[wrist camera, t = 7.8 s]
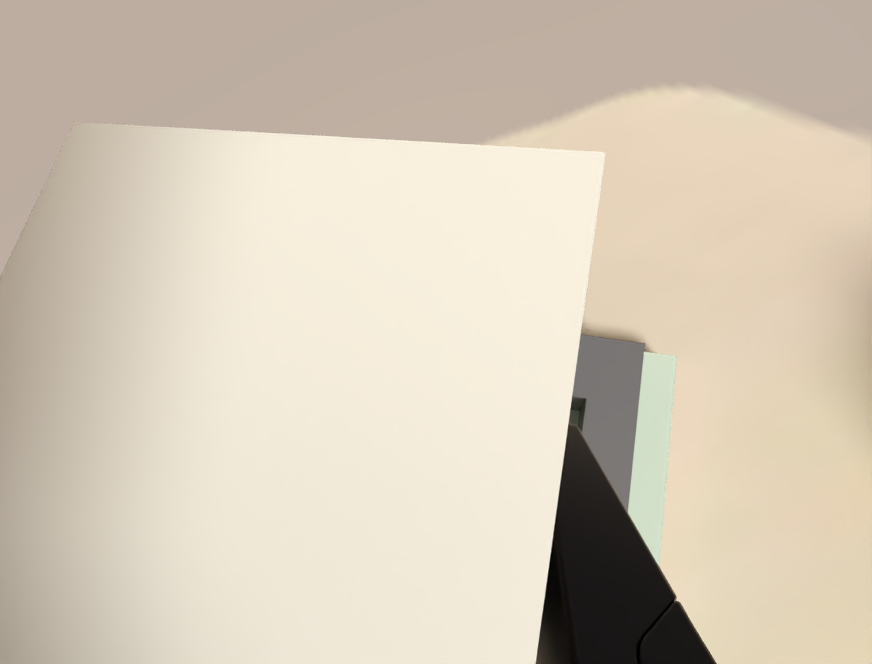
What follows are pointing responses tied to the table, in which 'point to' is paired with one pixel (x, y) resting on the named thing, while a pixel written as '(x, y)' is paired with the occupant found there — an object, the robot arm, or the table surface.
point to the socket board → (628, 423)
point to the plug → (287, 398)
